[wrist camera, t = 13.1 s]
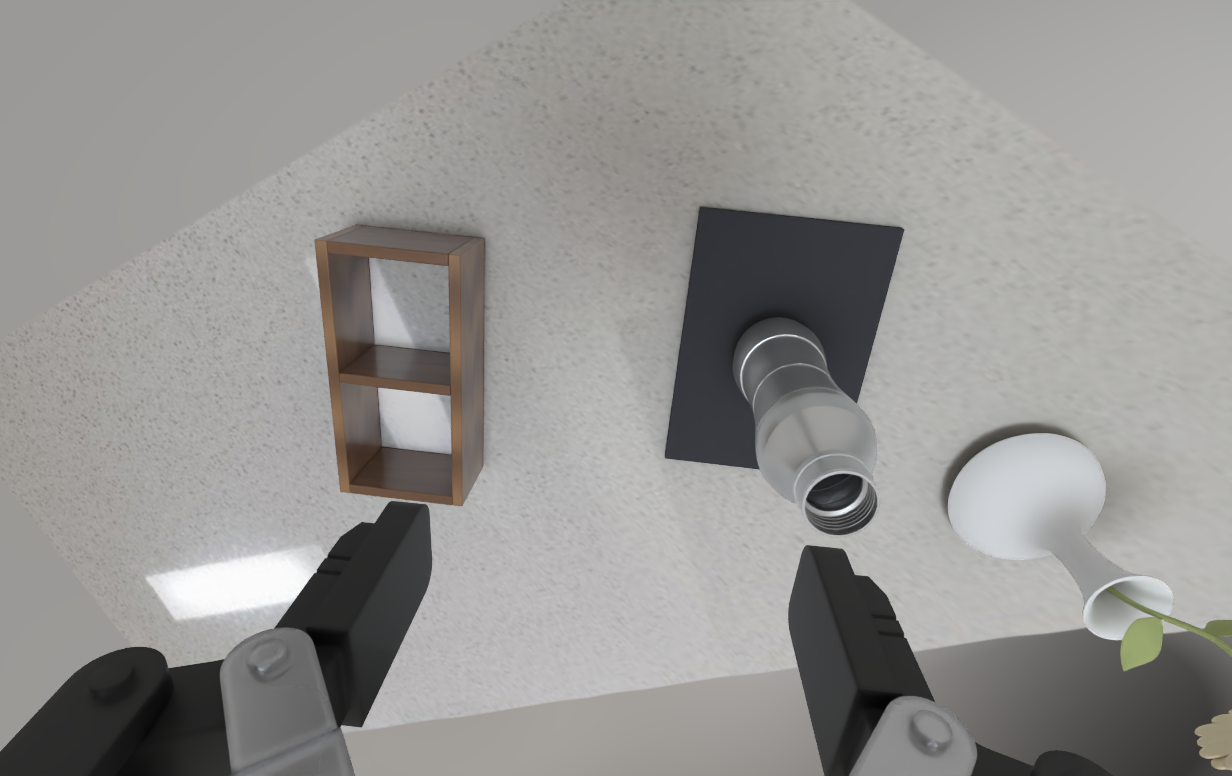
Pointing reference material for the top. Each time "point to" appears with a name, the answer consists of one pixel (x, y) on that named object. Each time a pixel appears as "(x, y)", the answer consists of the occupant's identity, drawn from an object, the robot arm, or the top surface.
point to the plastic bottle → (807, 428)
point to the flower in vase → (1072, 547)
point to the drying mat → (771, 315)
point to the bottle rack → (402, 364)
